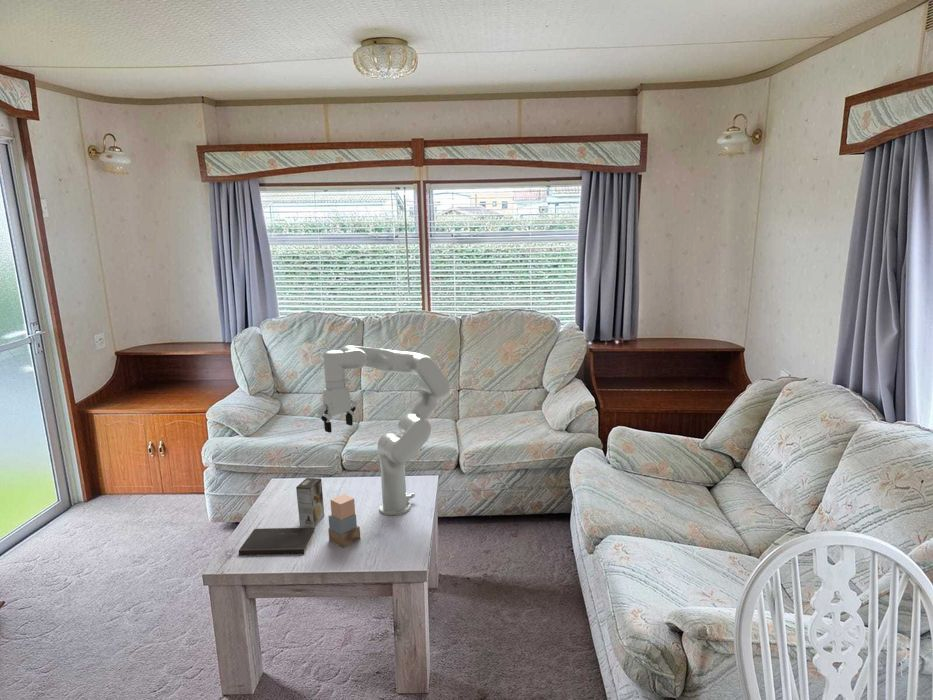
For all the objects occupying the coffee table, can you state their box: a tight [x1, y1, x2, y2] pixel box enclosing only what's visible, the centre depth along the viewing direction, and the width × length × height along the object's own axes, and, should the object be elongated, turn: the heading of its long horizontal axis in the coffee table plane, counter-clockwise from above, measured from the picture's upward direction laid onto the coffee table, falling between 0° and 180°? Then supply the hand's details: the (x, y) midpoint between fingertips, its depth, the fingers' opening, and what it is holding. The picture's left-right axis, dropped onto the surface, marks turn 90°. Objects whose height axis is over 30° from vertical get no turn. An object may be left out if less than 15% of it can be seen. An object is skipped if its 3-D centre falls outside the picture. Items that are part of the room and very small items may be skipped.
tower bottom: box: [328, 525, 361, 549], centre depth 216 cm, size 8×8×5 cm
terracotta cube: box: [330, 493, 356, 520], centre depth 214 cm, size 6×6×6 cm
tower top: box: [327, 513, 358, 535], centre depth 215 cm, size 7×7×5 cm
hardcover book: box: [238, 526, 316, 556], centre depth 216 cm, size 16×23×2 cm
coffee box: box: [295, 477, 325, 528], centre depth 230 cm, size 9×6×16 cm
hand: (339, 428), depth 222 cm, fingers open, 9 cm apart
